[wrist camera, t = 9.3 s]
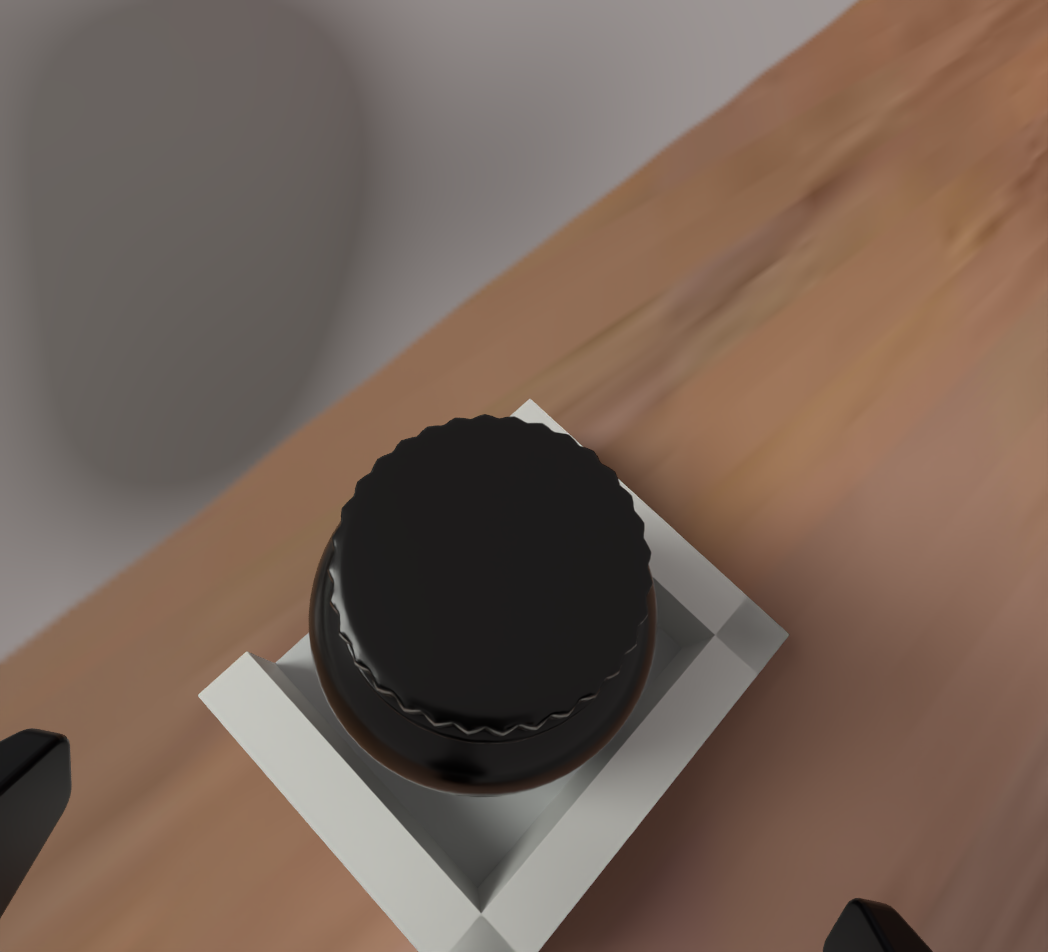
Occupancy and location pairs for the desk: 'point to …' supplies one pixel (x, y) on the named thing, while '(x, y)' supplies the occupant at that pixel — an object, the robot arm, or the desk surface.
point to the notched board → (512, 820)
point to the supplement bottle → (485, 608)
